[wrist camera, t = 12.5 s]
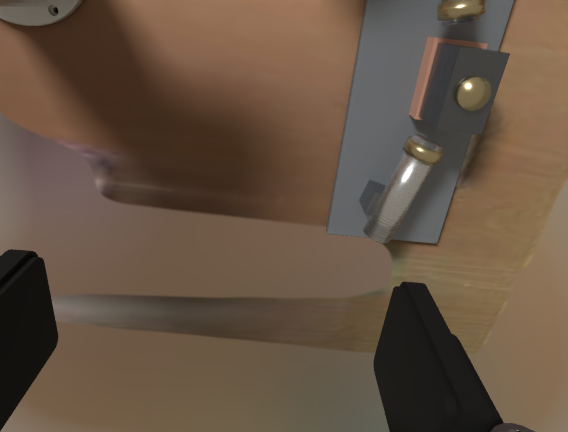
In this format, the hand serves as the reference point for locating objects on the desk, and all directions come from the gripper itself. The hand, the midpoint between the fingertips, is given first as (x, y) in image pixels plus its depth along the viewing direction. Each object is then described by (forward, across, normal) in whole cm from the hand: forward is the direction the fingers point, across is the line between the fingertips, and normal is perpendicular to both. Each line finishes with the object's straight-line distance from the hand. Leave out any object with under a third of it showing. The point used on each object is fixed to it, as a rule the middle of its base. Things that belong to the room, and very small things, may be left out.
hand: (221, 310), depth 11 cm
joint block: (+30, -17, -3) cm, 35 cm away
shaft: (+33, -14, +7) cm, 37 cm away
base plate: (+33, -15, -3) cm, 37 cm away
